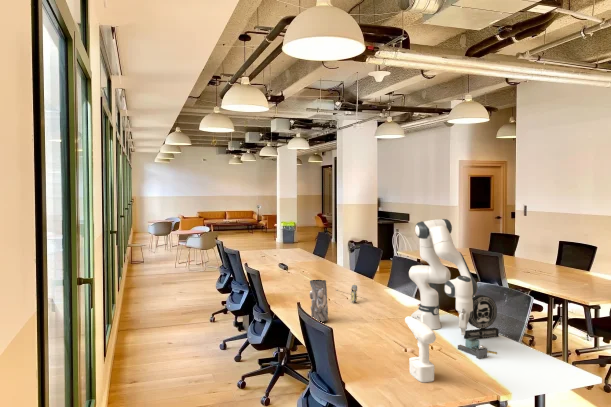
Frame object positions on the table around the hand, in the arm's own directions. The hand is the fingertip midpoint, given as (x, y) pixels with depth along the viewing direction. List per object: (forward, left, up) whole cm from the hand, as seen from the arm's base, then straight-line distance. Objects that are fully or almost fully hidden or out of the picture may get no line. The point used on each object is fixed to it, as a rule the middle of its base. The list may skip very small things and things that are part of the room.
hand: (464, 331), depth 244 cm
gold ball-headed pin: (+10, +9, -10) cm, 17 cm away
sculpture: (-86, -41, -10) cm, 96 cm away
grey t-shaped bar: (+5, -1, -10) cm, 11 cm away
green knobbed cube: (0, +6, -10) cm, 12 cm away
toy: (-119, +9, -10) cm, 120 cm away
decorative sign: (-10, +25, -10) cm, 29 cm away
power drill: (+13, -44, -10) cm, 47 cm away
